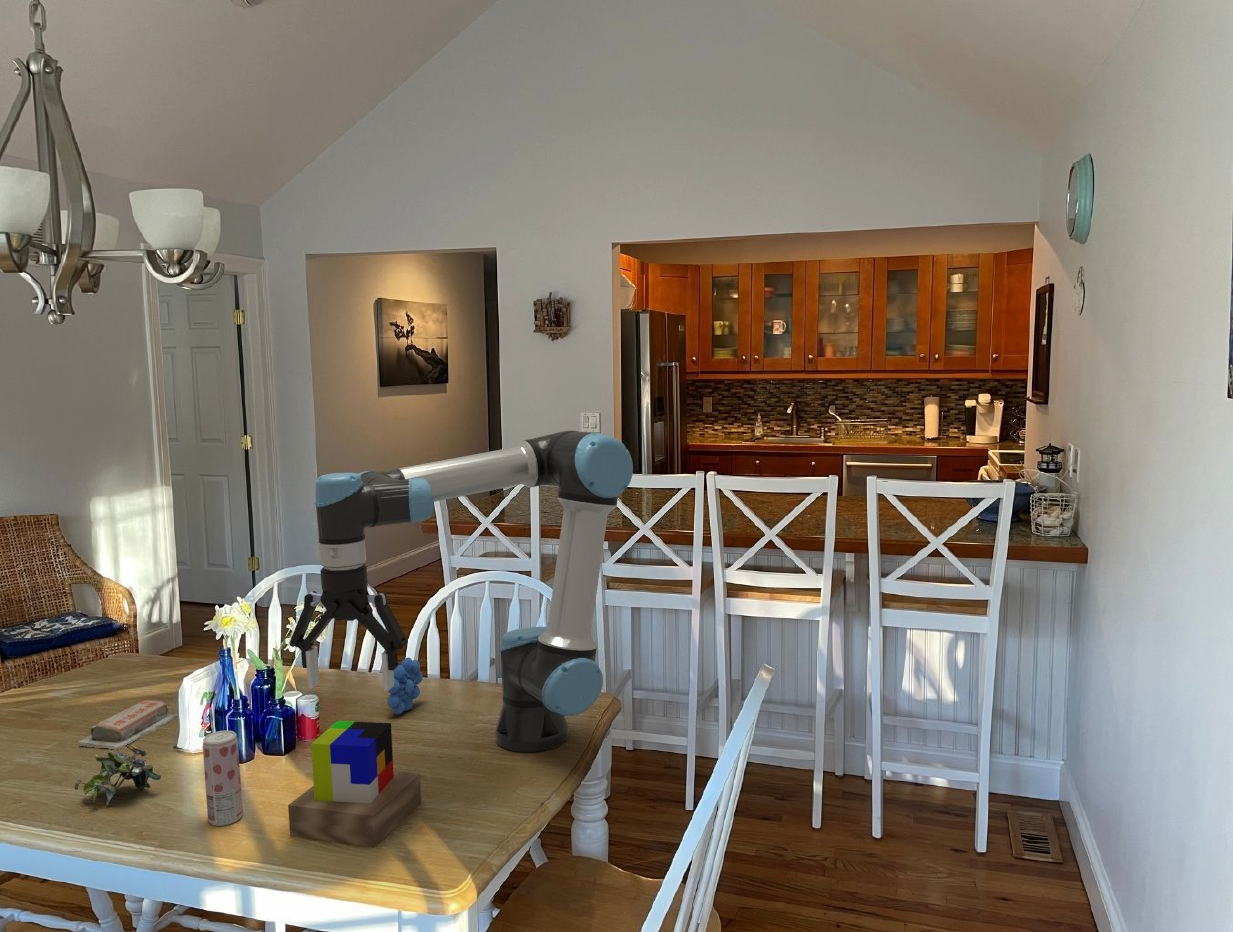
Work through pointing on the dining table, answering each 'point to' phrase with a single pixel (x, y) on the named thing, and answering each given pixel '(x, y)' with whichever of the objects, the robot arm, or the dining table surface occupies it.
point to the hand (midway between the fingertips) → (351, 687)
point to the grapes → (405, 686)
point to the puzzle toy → (352, 761)
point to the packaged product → (128, 725)
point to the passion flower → (120, 765)
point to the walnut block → (356, 813)
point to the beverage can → (222, 778)
